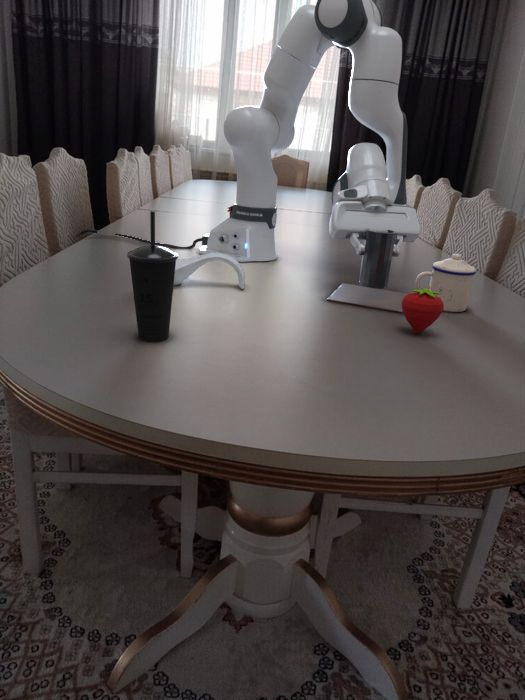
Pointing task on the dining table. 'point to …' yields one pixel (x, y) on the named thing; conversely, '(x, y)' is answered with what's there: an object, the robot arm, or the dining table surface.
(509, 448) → the dining table surface
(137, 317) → the drinking cup
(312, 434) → the dining table surface
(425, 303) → the strawberry
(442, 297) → the teacup with lid
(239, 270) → the white arch
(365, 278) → the waste bin
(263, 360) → the dining table surface
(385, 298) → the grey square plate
